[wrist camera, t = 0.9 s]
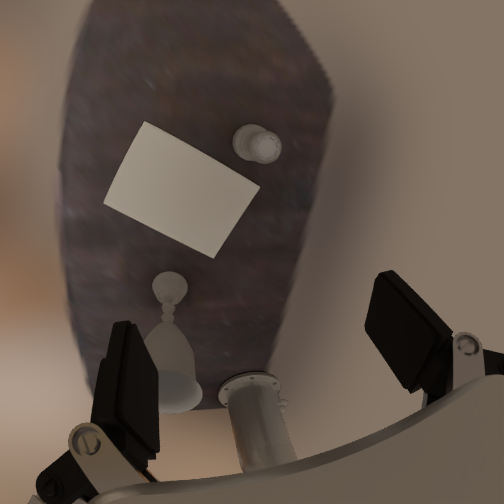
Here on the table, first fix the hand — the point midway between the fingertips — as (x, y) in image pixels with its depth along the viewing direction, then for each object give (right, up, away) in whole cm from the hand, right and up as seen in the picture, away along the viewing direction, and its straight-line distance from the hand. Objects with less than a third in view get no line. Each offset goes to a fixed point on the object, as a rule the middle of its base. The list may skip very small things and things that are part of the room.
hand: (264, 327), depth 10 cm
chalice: (-12, -2, +28) cm, 30 cm away
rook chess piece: (-1, +16, +21) cm, 27 cm away
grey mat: (-9, +10, +22) cm, 26 cm away
